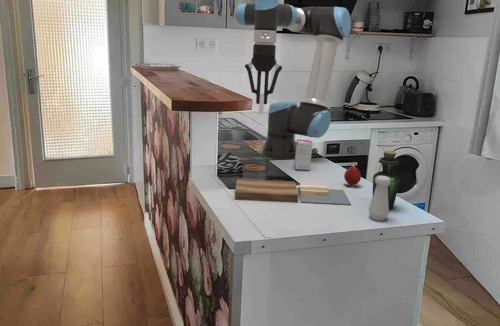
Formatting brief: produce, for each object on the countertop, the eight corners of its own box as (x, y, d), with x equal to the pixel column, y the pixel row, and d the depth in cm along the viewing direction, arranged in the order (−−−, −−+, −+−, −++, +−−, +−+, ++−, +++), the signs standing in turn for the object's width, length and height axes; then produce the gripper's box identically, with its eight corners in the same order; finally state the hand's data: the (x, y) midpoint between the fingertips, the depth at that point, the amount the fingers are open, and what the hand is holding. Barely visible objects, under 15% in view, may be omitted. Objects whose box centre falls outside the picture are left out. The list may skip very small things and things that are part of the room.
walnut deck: (236, 185, 162) (237, 178, 161) (294, 188, 162) (294, 181, 161) (234, 199, 148) (235, 192, 148) (297, 202, 148) (298, 195, 148)
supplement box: (310, 171, 183) (312, 143, 180) (295, 170, 183) (297, 142, 180) (308, 167, 189) (310, 139, 185) (293, 166, 188) (296, 138, 185)
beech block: (298, 191, 157) (299, 184, 157) (325, 193, 157) (326, 186, 156) (300, 197, 151) (300, 190, 151) (327, 199, 151) (328, 192, 151)
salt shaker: (363, 217, 139) (368, 175, 135) (375, 213, 142) (380, 172, 139) (380, 223, 135) (386, 180, 131) (391, 219, 138) (397, 177, 135)
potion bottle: (393, 213, 143) (401, 156, 138) (367, 208, 146) (373, 152, 141) (397, 205, 150) (405, 151, 145) (372, 200, 153) (378, 147, 148)
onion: (362, 185, 168) (364, 164, 166) (356, 189, 164) (358, 167, 161) (347, 182, 171) (349, 161, 169) (340, 186, 167) (342, 164, 164)
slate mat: (297, 188, 162) (297, 187, 162) (343, 190, 162) (343, 189, 162) (300, 202, 148) (300, 201, 148) (351, 205, 148) (351, 204, 148)
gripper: (245, 43, 153) (242, 114, 159) (284, 45, 153) (280, 116, 159) (245, 42, 160) (242, 110, 166) (283, 44, 160) (279, 112, 166)
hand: (261, 113), depth 163 cm, fingers closed
